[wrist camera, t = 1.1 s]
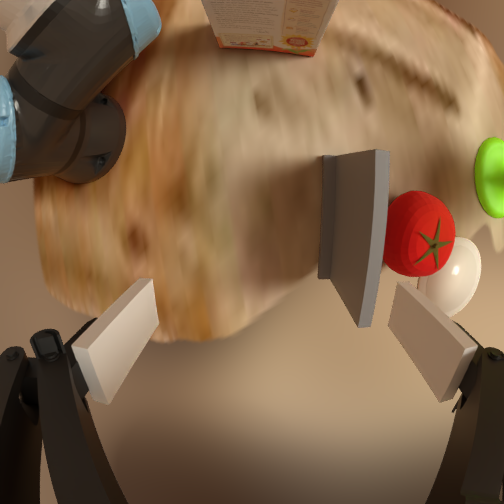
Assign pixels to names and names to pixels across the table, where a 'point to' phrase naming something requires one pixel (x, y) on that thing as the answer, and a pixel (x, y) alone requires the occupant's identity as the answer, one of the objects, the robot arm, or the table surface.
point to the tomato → (418, 234)
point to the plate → (454, 278)
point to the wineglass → (491, 176)
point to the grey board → (354, 227)
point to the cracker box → (270, 24)
